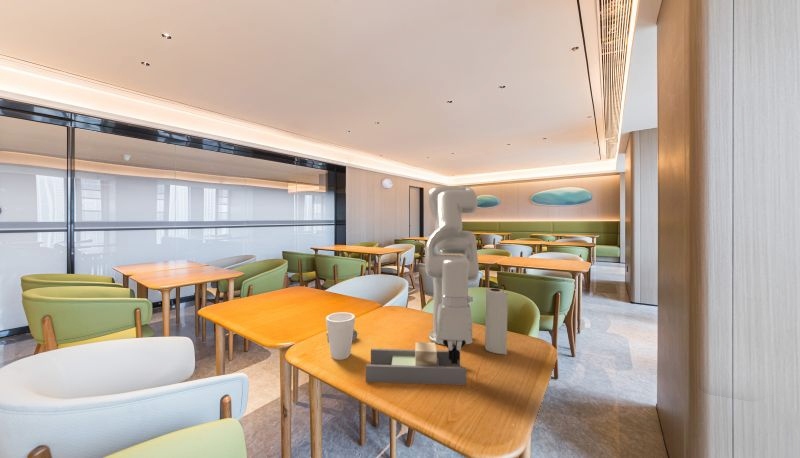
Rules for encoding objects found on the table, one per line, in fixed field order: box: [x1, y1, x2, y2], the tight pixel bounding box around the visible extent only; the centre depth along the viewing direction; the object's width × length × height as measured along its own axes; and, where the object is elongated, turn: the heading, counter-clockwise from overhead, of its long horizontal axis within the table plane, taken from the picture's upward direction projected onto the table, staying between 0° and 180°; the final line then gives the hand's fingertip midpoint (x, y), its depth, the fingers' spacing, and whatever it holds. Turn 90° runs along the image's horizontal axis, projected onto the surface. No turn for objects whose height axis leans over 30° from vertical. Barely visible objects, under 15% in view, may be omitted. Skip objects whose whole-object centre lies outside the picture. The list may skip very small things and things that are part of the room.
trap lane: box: [365, 348, 467, 386], centre depth 87 cm, size 28×11×4 cm, turn 88°
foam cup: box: [325, 311, 356, 360], centre depth 98 cm, size 10×9×13 cm
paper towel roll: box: [484, 287, 509, 356], centre depth 102 cm, size 7×6×21 cm
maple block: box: [414, 341, 437, 366], centre depth 87 cm, size 6×6×5 cm
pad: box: [392, 355, 415, 366], centre depth 87 cm, size 7×9×3 cm
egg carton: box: [326, 329, 359, 343], centre depth 110 cm, size 11×8×4 cm
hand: (453, 361), depth 87 cm, fingers closed
